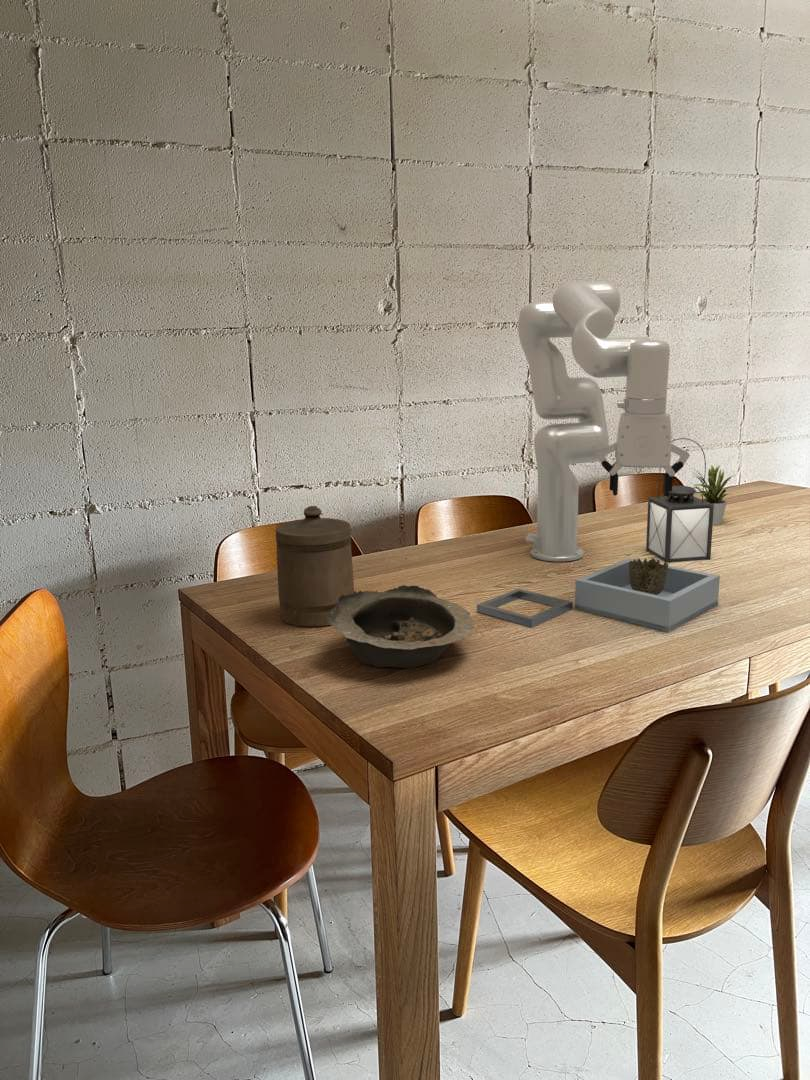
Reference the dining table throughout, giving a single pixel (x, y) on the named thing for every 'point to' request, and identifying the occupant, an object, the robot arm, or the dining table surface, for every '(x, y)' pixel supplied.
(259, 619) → the dining table surface
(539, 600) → the square metal frame
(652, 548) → the lantern
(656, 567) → the dark bronze rounded piece
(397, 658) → the stone bowl
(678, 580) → the bin
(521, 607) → the dining table surface
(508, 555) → the dining table surface
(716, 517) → the house plant
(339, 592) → the wooden container
